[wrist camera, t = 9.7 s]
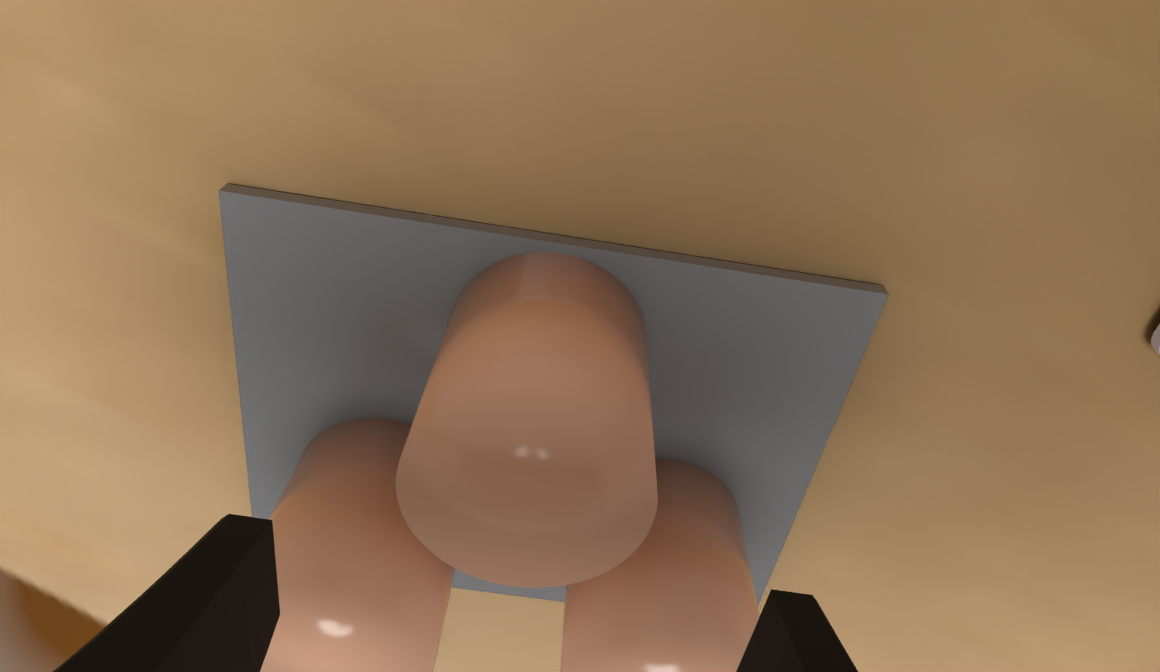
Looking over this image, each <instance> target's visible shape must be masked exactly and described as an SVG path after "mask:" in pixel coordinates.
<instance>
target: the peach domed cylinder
mask: <svg viewBox="0 0 1160 672" xmlns="http://www.w3.org/2000/svg"><path fill="white" fill-rule="evenodd" d="M410 429H411V425H408V424H404V423H401V422H397V421H392V420H385V419H357V420H350V421H346V422H342V423H339V424H337V425H334V426H331V427H330V428H328V429H326V430H324V431H322V432H321V433H320V434H318V435H317V436H316V437H315V438H314V439H313V440H312V441H311V442H310V443H309V444H308V446H307V447H306V449H305V450H304V452H303V454H302V456H301V458H300V460H299V462H298V463H297V465H296V467H295V469H294V471H293V473H292V475H291V477H290V479H289V481H288V483H287V485H286V487H285V488H284V490H283V492H282V494H281V496H280V498H279V500H278V502H277V504H276V506H275V508H274V510H273V512H272V513H271V515H270V517H269V520H272V523H273V534H274V546H275V558H276V570H277V582H278V593H279V605H280V616H279V619H278V622H277V625H276V628H275V631H274V634H273V637H272V639H271V642H270V645H269V648H268V651H267V654H266V657H265V659H264V662H263V665H262V668H261V670H260V672H433V669H434V664H435V660H436V655H437V651H438V646H439V642H440V637H441V632H442V628H443V623H444V619H445V614H446V610H447V605H448V601H449V596H450V592H451V587H452V582H453V578H454V573H455V569H456V568H454V567H452V566H450V565H449V564H447V563H445V562H444V561H442V560H441V559H440V558H438V557H437V556H435V555H434V554H433V553H432V552H431V551H429V550H428V549H427V548H426V547H425V546H424V545H423V544H422V543H421V542H420V541H419V540H418V538H417V537H416V536H415V535H414V534H413V532H412V531H411V529H410V528H409V526H408V525H407V523H406V521H405V519H404V517H403V515H402V513H401V510H400V507H399V504H398V500H397V494H396V473H397V469H398V464H399V460H400V458H401V455H402V452H403V449H404V446H405V443H406V441H407V438H408V435H409V432H410Z"/></svg>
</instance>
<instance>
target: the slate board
mask: <svg viewBox="0 0 1160 672" xmlns="http://www.w3.org/2000/svg"><path fill="white" fill-rule="evenodd" d="M219 198H220V208H221V217H222V227H223V237H224V247H225V256H226V266H227V276H228V286H229V295H230V305H231V315H232V325H233V334H234V344H235V354H236V364H237V374H238V383H239V393H240V403H241V413H242V422H243V432H244V442H245V452H246V461H247V471H248V481H249V491H250V500H251V510H252V517H254V518H262V519H269V517H270V515H271V513H272V512H273V510H274V508H275V506H276V504H277V502H278V500H279V498H280V496H281V494H282V492H283V490H284V488H285V487H286V485H287V483H288V481H289V479H290V477H291V475H292V473H293V471H294V469H295V467H296V465H297V463H298V462H299V460H300V458H301V456H302V454H303V452H304V450H305V449H306V447H307V446H308V444H309V443H310V442H311V441H312V440H313V439H314V438H315V437H316V436H317V435H318V434H320V433H321V432H322V431H324V430H326V429H328V428H330V427H331V426H334V425H337V424H339V423H342V422H346V421H350V420H357V419H385V420H392V421H397V422H401V423H404V424H408V425H411V426H412V423H413V421H414V418H415V415H416V412H417V409H418V406H419V404H420V401H421V398H422V395H423V392H424V389H425V387H426V384H427V381H428V378H429V375H430V372H431V369H432V367H433V364H434V361H435V358H436V355H437V352H438V350H439V347H440V344H441V341H442V338H443V335H444V333H445V330H446V327H447V324H448V321H449V318H450V315H451V313H452V310H453V307H454V305H455V303H456V300H457V298H458V297H459V295H460V293H461V292H462V290H463V289H464V287H465V286H466V285H467V284H468V283H469V282H470V280H471V279H473V278H474V277H475V276H476V275H477V274H478V273H479V272H481V271H482V270H484V269H485V268H487V267H488V266H490V265H492V264H494V263H496V262H498V261H500V260H502V259H505V258H508V257H511V256H514V255H518V254H523V253H529V252H557V253H563V254H569V255H573V256H576V257H580V258H583V259H585V260H587V261H590V262H592V263H595V264H596V265H598V266H600V267H602V268H603V269H605V270H607V271H608V272H609V273H611V274H612V275H613V276H615V277H616V278H617V279H618V280H619V281H620V282H621V283H622V284H623V285H624V286H625V287H626V288H627V290H628V291H629V292H630V293H631V295H632V296H633V298H634V299H635V301H636V303H637V305H638V306H639V309H640V311H641V314H642V316H643V320H644V324H645V329H646V343H647V356H648V370H649V384H650V397H651V411H652V424H653V438H654V451H655V459H668V460H675V461H680V462H685V463H688V464H691V465H695V466H697V467H699V468H701V469H704V470H706V471H707V472H709V473H711V474H712V475H714V476H715V477H717V478H718V479H719V480H720V481H722V482H723V484H724V485H725V486H726V487H727V488H728V489H729V490H730V492H731V493H732V495H733V496H734V499H735V501H736V503H737V506H738V510H739V514H740V519H741V524H742V529H743V534H744V540H745V545H746V550H747V555H748V560H749V565H750V570H751V575H752V580H753V585H754V590H755V595H756V601H757V606H758V605H759V602H760V600H761V597H762V595H763V593H764V590H765V588H766V586H767V583H768V581H769V578H770V576H771V574H772V571H773V569H774V566H775V564H776V562H777V559H778V557H779V555H780V552H781V550H782V547H783V545H784V543H785V540H786V538H787V535H788V533H789V531H790V528H791V526H792V524H793V521H794V519H795V516H796V514H797V512H798V509H799V507H800V504H801V502H802V500H803V497H804V495H805V493H806V490H807V488H808V485H809V483H810V481H811V478H812V476H813V474H814V471H815V469H816V466H817V464H818V462H819V459H820V457H821V454H822V452H823V450H824V447H825V445H826V443H827V440H828V438H829V435H830V433H831V431H832V428H833V426H834V423H835V421H836V419H837V416H838V414H839V412H840V409H841V407H842V404H843V402H844V400H845V397H846V395H847V392H848V390H849V388H850V385H851V383H852V381H853V378H854V376H855V373H856V371H857V369H858V366H859V364H860V362H861V359H862V357H863V354H864V352H865V350H866V347H867V345H868V342H869V340H870V338H871V335H872V333H873V331H874V328H875V326H876V323H877V321H878V319H879V316H880V314H881V311H882V309H883V307H884V304H885V302H886V300H887V297H888V295H889V294H888V293H887V291H886V289H885V288H884V286H883V285H877V284H870V283H864V282H857V281H851V280H845V279H838V278H832V277H825V276H819V275H812V274H806V273H799V272H793V271H787V270H780V269H774V268H767V267H761V266H754V265H748V264H741V263H735V262H729V261H722V260H716V259H709V258H703V257H696V256H690V255H683V254H677V253H671V252H664V251H658V250H651V249H645V248H638V247H632V246H626V245H619V244H613V243H606V242H600V241H593V240H587V239H580V238H574V237H568V236H561V235H555V234H548V233H542V232H535V231H529V230H522V229H516V228H510V227H503V226H497V225H490V224H484V223H477V222H471V221H465V220H458V219H452V218H445V217H439V216H432V215H426V214H419V213H413V212H407V211H400V210H394V209H387V208H381V207H374V206H368V205H361V204H355V203H349V202H342V201H336V200H329V199H323V198H316V197H310V196H303V195H297V194H291V193H284V192H278V191H271V190H265V189H258V188H252V187H246V186H239V185H233V184H226V185H225V186H224V187H223V188H221V189H220V190H219ZM452 587H453V588H460V589H468V590H476V591H483V592H491V593H499V594H506V595H514V596H522V597H529V598H537V599H545V600H552V601H560V602H565V590H566V585H564V586H557V587H546V588H526V587H514V586H507V585H502V584H497V583H493V582H488V581H485V580H482V579H479V578H476V577H473V576H471V575H469V574H466V573H464V572H462V571H459V570H458V569H455V573H454V578H453V582H452Z"/></svg>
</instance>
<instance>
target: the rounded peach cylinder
mask: <svg viewBox="0 0 1160 672" xmlns="http://www.w3.org/2000/svg"><path fill="white" fill-rule="evenodd" d="M396 494H397V500H398V504H399V507H400V510H401V513H402V515H403V517H404V519H405V521H406V523H407V525H408V526H409V528H410V529H411V531H412V532H413V534H414V535H415V536H416V537H417V538H418V540H419V541H420V542H421V543H422V544H423V545H424V546H425V547H426V548H427V549H428V550H429V551H431V552H432V553H433V554H434V555H435V556H437V557H438V558H440V559H441V560H442V561H444V562H445V563H447V564H449V565H450V566H452V567H454V568H456V569H458V570H459V571H462V572H464V573H466V574H469V575H471V576H473V577H476V578H479V579H482V580H485V581H488V582H493V583H497V584H502V585H507V586H514V587H526V588H546V587H557V586H564V585H569V584H574V583H578V582H582V581H585V580H588V579H591V578H594V577H596V576H598V575H600V574H603V573H605V572H607V571H609V570H610V569H612V568H614V567H615V566H617V565H619V564H620V563H622V562H623V561H624V560H625V559H627V558H628V557H629V556H630V555H631V554H632V553H633V552H634V551H635V550H636V549H637V548H638V547H639V546H640V545H641V543H642V542H643V540H644V539H645V538H646V536H647V535H648V533H649V531H650V529H651V527H652V525H653V522H654V518H655V515H656V512H657V503H658V492H657V478H656V465H655V451H654V438H653V424H652V411H651V397H650V384H649V370H648V356H647V343H646V329H645V324H644V320H643V316H642V314H641V311H640V309H639V306H638V305H637V303H636V301H635V299H634V298H633V296H632V295H631V293H630V292H629V291H628V290H627V288H626V287H625V286H624V285H623V284H622V283H621V282H620V281H619V280H618V279H617V278H616V277H615V276H613V275H612V274H611V273H609V272H608V271H607V270H605V269H603V268H602V267H600V266H598V265H596V264H595V263H592V262H590V261H587V260H585V259H583V258H580V257H576V256H573V255H569V254H563V253H557V252H529V253H523V254H518V255H514V256H511V257H508V258H505V259H502V260H500V261H498V262H496V263H494V264H492V265H490V266H488V267H487V268H485V269H484V270H482V271H481V272H479V273H478V274H477V275H476V276H475V277H474V278H473V279H471V280H470V282H469V283H468V284H467V285H466V286H465V287H464V289H463V290H462V292H461V293H460V295H459V297H458V298H457V300H456V303H455V305H454V307H453V310H452V313H451V315H450V318H449V321H448V324H447V327H446V330H445V333H444V335H443V338H442V341H441V344H440V347H439V350H438V352H437V355H436V358H435V361H434V364H433V367H432V369H431V372H430V375H429V378H428V381H427V384H426V387H425V389H424V392H423V395H422V398H421V401H420V404H419V406H418V409H417V412H416V415H415V418H414V421H413V423H412V426H411V429H410V432H409V435H408V438H407V441H406V443H405V446H404V449H403V452H402V455H401V458H400V460H399V464H398V469H397V473H396Z"/></svg>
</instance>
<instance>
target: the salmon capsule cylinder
mask: <svg viewBox="0 0 1160 672" xmlns="http://www.w3.org/2000/svg"><path fill="white" fill-rule="evenodd" d="M655 465H656V478H657V492H658V503H657V512H656V515H655V518H654V522H653V525H652V527H651V529H650V531H649V533H648V535H647V536H646V538H645V539H644V540H643V542H642V543H641V545H640V546H639V547H638V548H637V549H636V550H635V551H634V552H633V553H632V554H631V555H630V556H629V557H628V558H627V559H625V560H624V561H623V562H622V563H620V564H619V565H617V566H615V567H614V568H612V569H610V570H609V571H607V572H605V573H603V574H600V575H598V576H596V577H594V578H591V579H588V580H585V581H582V582H578V583H574V584H569V585H566V590H565V606H564V622H563V638H562V655H561V671H560V672H736V671H737V669H738V666H739V664H740V662H741V659H742V657H743V655H744V652H745V650H746V648H747V645H748V643H749V641H750V638H751V636H752V634H753V631H754V629H755V627H756V624H757V622H758V620H759V617H760V616H759V611H758V606H757V601H756V595H755V590H754V585H753V580H752V575H751V570H750V565H749V560H748V555H747V550H746V545H745V540H744V534H743V529H742V524H741V519H740V514H739V510H738V506H737V503H736V501H735V499H734V496H733V495H732V493H731V492H730V490H729V489H728V488H727V487H726V486H725V485H724V484H723V482H722V481H720V480H719V479H718V478H717V477H715V476H714V475H712V474H711V473H709V472H707V471H706V470H704V469H701V468H699V467H697V466H695V465H691V464H688V463H685V462H680V461H675V460H668V459H655Z"/></svg>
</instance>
